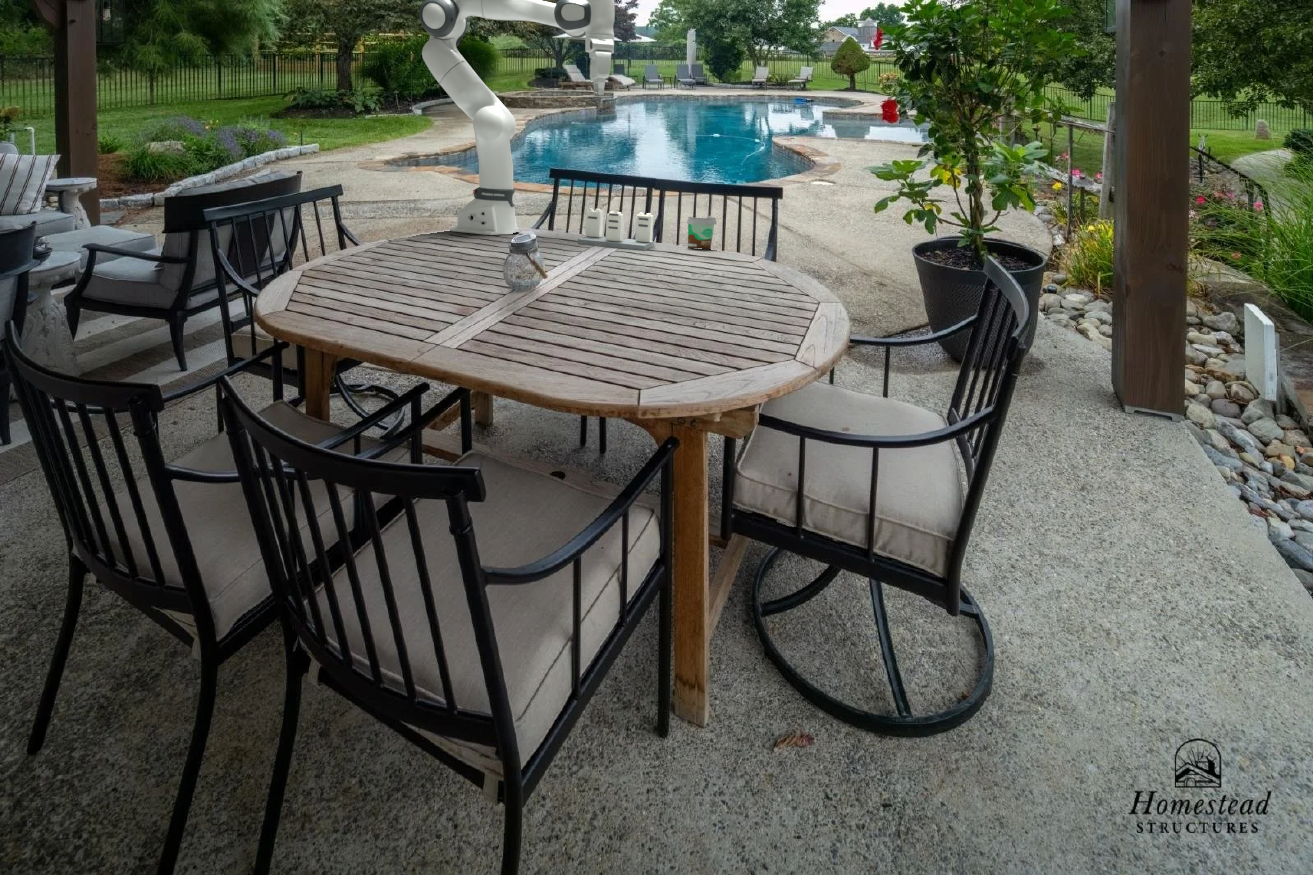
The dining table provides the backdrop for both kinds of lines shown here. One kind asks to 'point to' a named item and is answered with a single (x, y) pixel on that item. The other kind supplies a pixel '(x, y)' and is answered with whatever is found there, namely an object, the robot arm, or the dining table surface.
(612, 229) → the tile three
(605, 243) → the tile board
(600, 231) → the tile one
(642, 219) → the tile two
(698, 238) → the food container
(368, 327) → the dining table surface
